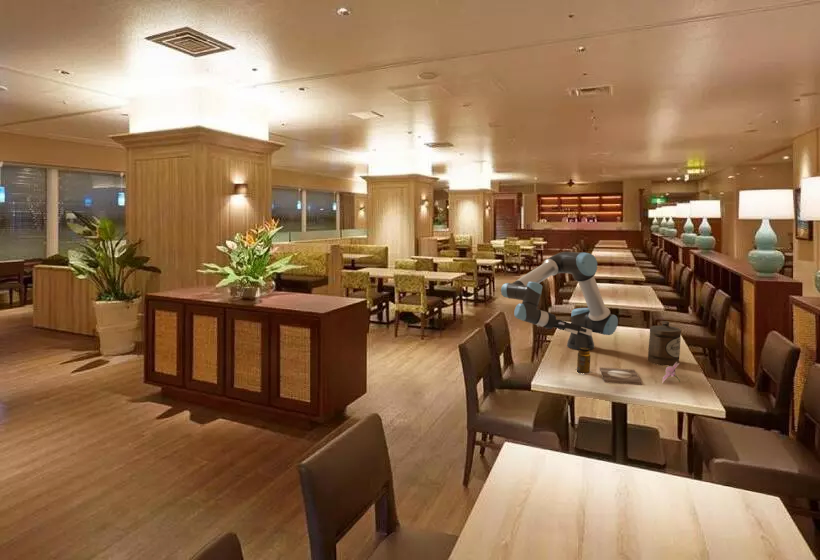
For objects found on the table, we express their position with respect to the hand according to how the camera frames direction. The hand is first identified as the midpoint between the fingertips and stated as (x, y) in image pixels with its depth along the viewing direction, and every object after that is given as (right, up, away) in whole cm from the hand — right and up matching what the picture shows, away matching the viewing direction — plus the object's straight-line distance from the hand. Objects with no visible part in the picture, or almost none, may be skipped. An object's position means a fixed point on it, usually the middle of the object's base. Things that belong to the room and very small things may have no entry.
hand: (584, 332), depth 256 cm
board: (+15, -21, -7) cm, 26 cm away
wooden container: (+48, -18, +18) cm, 54 cm away
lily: (+35, -22, -14) cm, 44 cm away
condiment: (-1, -20, +1) cm, 20 cm away
